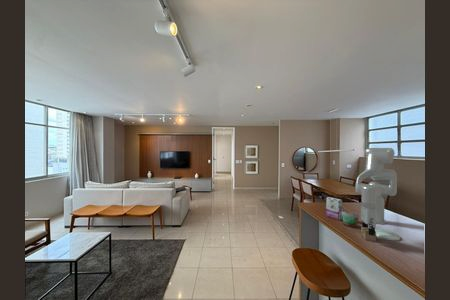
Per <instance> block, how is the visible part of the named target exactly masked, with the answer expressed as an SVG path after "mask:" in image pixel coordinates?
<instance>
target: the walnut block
mask: <svg viewBox="0 0 450 300" xmlns="http://www.w3.org/2000/svg"><path fill="white" fill-rule="evenodd" d="M360 229H361V230H360V236H361V238H362V239H363V240H364V241H372V242H377V236H376V231H375V235H369V227H368V228H366V227H362V226H361V227H360Z"/></svg>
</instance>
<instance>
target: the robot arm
mask: <svg viewBox="0 0 450 300" xmlns="http://www.w3.org/2000/svg"><path fill="white" fill-rule="evenodd" d="M364 153H365V157H366V161H365V169H364V171H363V172H360V173H359V175H358V176H357V177H356V181H355V186H354V187H355V193H356V194H358V195H361V211H360V220H361V222H362V223H361V225H362V226H361V227H366V228H369V235H375V229H376V224H379V225H385V224H388V223H387V220H386V219H385V199H384V198H383V196H391V197H394V196H396V195H397V192H398V182H397V181H398V177H397V172H396V171H395V169H391V168H389V169H388V168H385V167H384V166H385V165H387V164H388V165H390V164H392V163H393V161H394V158H395V150H394V148H391V147H368V148H366V149H365V150H364ZM368 178H371V180H373V181H370V182H369V183H362V181H363V180H365V179H368ZM382 195H383V196H382Z"/></svg>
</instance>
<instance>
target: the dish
mask: <svg viewBox="0 0 450 300" xmlns="http://www.w3.org/2000/svg"><path fill="white" fill-rule="evenodd" d="M375 231H376V238H380V239H381V240H386V241H393V242H394V241H395V242H397V241H400V240H401V237H400V235H399V234H398V233H395V232H394V231H393V232H392V231H390V230H386V229H378V228H375Z"/></svg>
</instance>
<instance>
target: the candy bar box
mask: <svg viewBox="0 0 450 300" xmlns="http://www.w3.org/2000/svg"><path fill="white" fill-rule="evenodd" d="M325 203H326V204H325V216H326V217H327V216H328V217H327V218H330V217H331V218H330V219H333V218H334V219H333V220H337V221H343V215H342V214H341V213H342V210H343V199H341V198H336V197H332V196H331V197H330V196H328V197H326V198H325Z"/></svg>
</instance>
